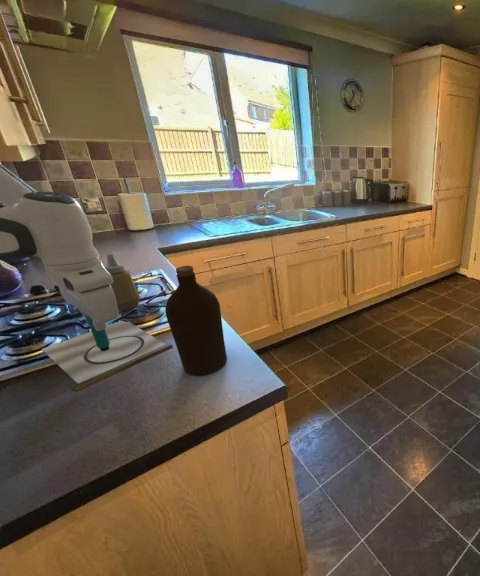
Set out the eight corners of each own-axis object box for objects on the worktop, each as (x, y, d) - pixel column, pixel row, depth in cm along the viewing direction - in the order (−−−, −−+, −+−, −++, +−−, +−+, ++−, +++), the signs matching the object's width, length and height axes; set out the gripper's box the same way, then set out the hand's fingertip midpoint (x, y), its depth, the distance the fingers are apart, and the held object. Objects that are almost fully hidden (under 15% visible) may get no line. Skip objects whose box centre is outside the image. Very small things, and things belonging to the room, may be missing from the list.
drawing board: (36, 353, 81) (34, 349, 80) (128, 320, 96) (127, 316, 96) (75, 392, 69) (73, 387, 69) (173, 347, 85) (172, 343, 85)
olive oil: (223, 376, 76) (203, 276, 66) (173, 380, 74) (144, 278, 64) (234, 349, 85) (218, 259, 75) (190, 352, 83) (167, 260, 73)
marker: (96, 350, 78) (80, 304, 73) (108, 345, 80) (93, 300, 75) (101, 353, 77) (84, 307, 72) (113, 348, 79) (97, 303, 74)
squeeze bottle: (136, 300, 107) (120, 248, 100) (147, 308, 103) (131, 253, 96) (106, 309, 101) (87, 254, 94) (116, 317, 97) (97, 260, 90)
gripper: (39, 264, 72) (61, 318, 78) (77, 287, 63) (99, 347, 68) (75, 257, 77) (93, 308, 83) (115, 277, 68) (133, 334, 73)
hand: (96, 326), depth 76 cm, fingers closed on marker, 2 cm apart
